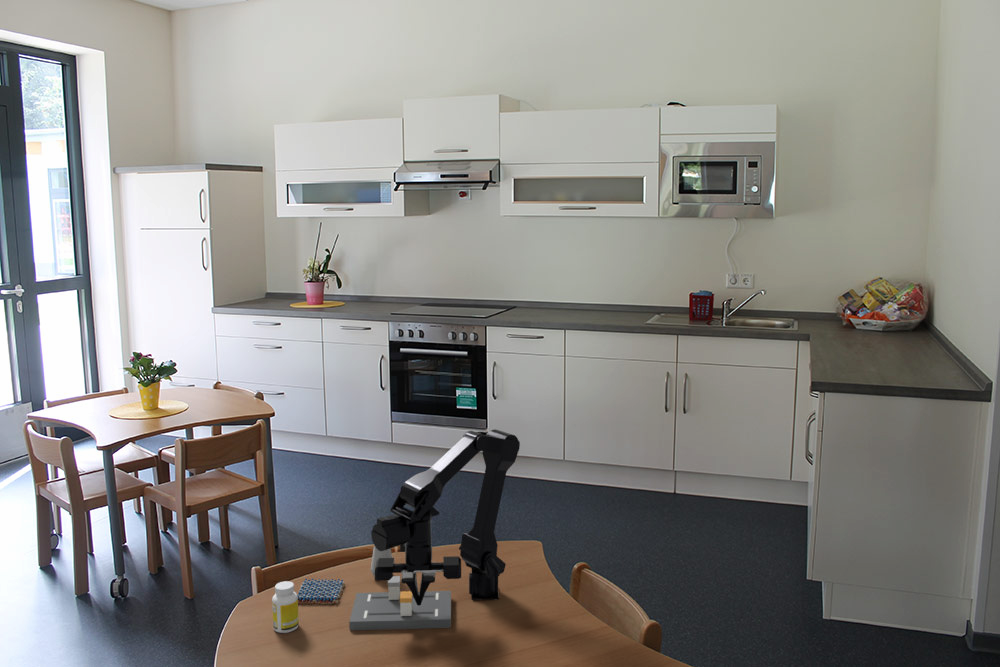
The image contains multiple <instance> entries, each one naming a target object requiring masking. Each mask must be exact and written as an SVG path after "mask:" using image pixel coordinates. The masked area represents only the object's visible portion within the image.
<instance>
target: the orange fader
mask: <svg viewBox="0 0 1000 667" xmlns="http://www.w3.org/2000/svg"><path fill="white" fill-rule="evenodd" d="M400 592H401V593H400V612H401V616H412V596H413V594H412V592H411V591H410V590H409V591H401V590H400Z"/></svg>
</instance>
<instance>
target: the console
mask: <svg viewBox="0 0 1000 667" xmlns="http://www.w3.org/2000/svg"><path fill="white" fill-rule="evenodd" d="M418 592H419V593H420V591H418ZM400 593H401V591H400ZM352 605H353V606H352V610H351V614H350V618H349V622H348V623H349V626H348V627H349V631H372V630H374V631H376V630H408V629H410V630H413V629H414V630H415V629H450V628H452V590H431V591H430V590H429V591H428V590H426V592H425V595H424V597H423V600H422V603H421V605H417V604H416V601H415V599H414V597H413V596H412V616H401V612H400V598H399V600H389V591H388V592H387V591H385V592H383V591H382V592H356V593H355V598H354V601H353V604H352Z"/></svg>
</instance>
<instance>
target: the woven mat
mask: <svg viewBox="0 0 1000 667" xmlns="http://www.w3.org/2000/svg"><path fill="white" fill-rule="evenodd" d="M301 582H302V584H301V585H300V587H299V590H298V592H297V596H298V600H300V601H298V603H299V604H298V605H301V603H312V604H316V603H322V604H323V605H324V604H326V605H328V604H329V603H330V604H331V605H332V604H334V605H336V604H338V603H339V602H340V601H339V599H340V598H341V595H343V594H342V593H343V591H344V589H343V588H345V587H346V586H345V584H344V583H345V581H344V579H340V578H338V579H334V578H331V579H327V578H325V579H320V578H318V579H314V578H311V579H308V578H305V579H304V580H303V581H301ZM302 600H303V601H302ZM309 600H310V601H309ZM327 603H328V604H327Z"/></svg>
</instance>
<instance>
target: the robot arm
mask: <svg viewBox="0 0 1000 667" xmlns="http://www.w3.org/2000/svg"><path fill="white" fill-rule="evenodd" d="M520 446H521V444H520V440H519V438H518V437H517V435H514V434H511V433H508V432H505V431H502V430H500V429H496V428H495V429H491V430H489V431H473V430H467V431H466V432H464V434H463V436H462V437H461V439H459V441H457V443H456V444H454V445H453V446H452V447H451V448H450V449H448V451H447V452H446V453H445V454H444V455H443V456H442V457H440V458H439V459H438V460H437V461H436V462H435V463H434V464H433V465H432V466H431V467H430V468H428V469H427V470H426V471H421V472H419V473H416V474H415V475H413V476H412V477H410V478H408V479H407V480H406V481H405V482H403V484H402V485H401V486H400V491H399V493H398V495H397V497H396V498H395V501H394V502H393V504H392V505H391V508H390V513H391V514H390V515H387V516H381V517H378V518H377V519H376V523H375V524H374V525H373V526H372V529H371V532H370V534H371V541H372V543H373V547H374V546H375V547H376V549H378V550H379V551H385V550H388V549H393V548H396V547H399V552H400V553H405V555H404V557H405V561H404V563H402V562H401V563H395V557H392V558H379V559H378V560H377V561H376V566H375V577H374V580H375V581H377V582H378V581H380V582H383V581H387V582H388V580H390V579H391V578H392V577H393V576H394V574H397V573H398V574H399V573H400V574H401V575H400V576H401V583H402V584H406V586H407V587H408V589H409V591H411V592H412V594H413V597H414V599H415V601H416V604H417V605H421V603H422V600H423V597H424V595H425V592H426V591H428V588H429V586H430V584H434V583H435V582H436V573H437V572H438V573H442V576H443V577H444V578H445V579H446V580H453V579H454V580H459V579H462V561H463V562H464V564H465V566H466V567H468V568H470V569H471V572H469V573H468V594H469V595H471V596H470V597H471V598H470V599H471V600H472V601H489V600H490V601H491V600H493V601H494V600H500V594H499V577H500V575H501V574H503V573H504V572H505V568H506V566H507V564H506V563H505V561H503V560H502V559H501V558H500V557H499V556H498V540H497V537H496V534H495V528H496V523H497V519H498V514H499V509H500V505H501V500H502V494H503V491H504V486H505V485H504V484H505V481H506V475H507V472H508V470H510V468H511V467H512V466H513V465H514V464H515V462H516V459H517V456H518V454H519V450H520ZM480 452H482V457H483V460H484V465H485V469H484V475H483V480H482V485H481V487H480V488H481V489H480V494H479V499H478V503H477V509H476V514H475V518H474V523H473V527H472V528H471V529H470V530H469V531H468V532H467V533H466V532H464V533H462V536H461V542H460V545H459V548H458V550H459V551H460V554H459V555H460V556H458V555H457V556H455V555H454V556H453V555H452V556H443V558H442V560H443V562H436V561H432V560H433V547H432V517H436V516H439V515H440V511H439V510H437V509H436V508H435V505H436V504H437V502H438V500H439V499H440V498H441V496H442V493H443V490H444V487H445V486H446V485H447V483H449V482H450V481H451V480H452V479H453V478H454V476H456V475H457V474H458V473H459V472H461V470H462V469H463V468H465V467H466V465H467V464H468V463H469V462H471V461H472V459H473V458H474V457H476V456H477V455H478V454H479V453H480ZM405 506H408V507H409V508H412V509H414V510H411V509H408V508H406V507H405ZM460 557H461V558H460ZM417 573H421V577H420V578H421V579H420V585H419V586H420V587H419V586H418V578H417ZM419 592H420V593H419Z"/></svg>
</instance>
